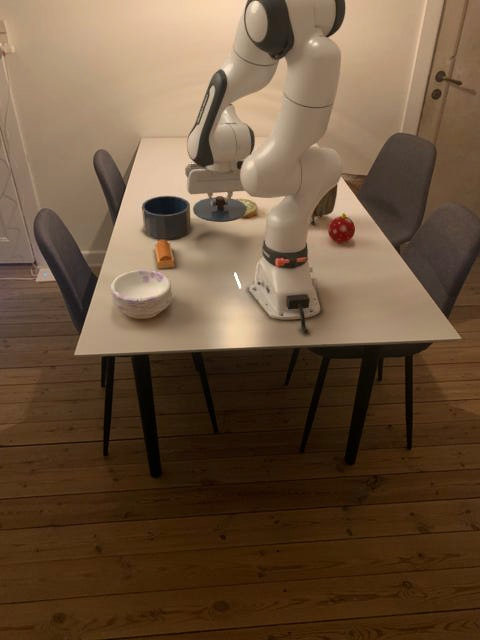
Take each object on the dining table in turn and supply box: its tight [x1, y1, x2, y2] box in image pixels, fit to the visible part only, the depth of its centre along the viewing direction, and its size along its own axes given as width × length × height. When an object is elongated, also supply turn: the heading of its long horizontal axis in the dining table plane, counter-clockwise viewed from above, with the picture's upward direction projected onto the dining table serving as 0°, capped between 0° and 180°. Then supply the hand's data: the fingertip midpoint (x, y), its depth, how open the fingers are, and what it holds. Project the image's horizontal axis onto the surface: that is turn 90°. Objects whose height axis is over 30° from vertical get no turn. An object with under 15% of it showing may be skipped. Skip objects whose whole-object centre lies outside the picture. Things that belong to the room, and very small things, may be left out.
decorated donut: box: [234, 198, 259, 218], centre depth 176 cm, size 10×11×4 cm
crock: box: [141, 195, 192, 241], centre depth 163 cm, size 16×16×8 cm
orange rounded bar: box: [154, 239, 175, 270], centre depth 148 cm, size 11×5×4 cm, turn 13°
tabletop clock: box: [310, 184, 338, 226], centre depth 164 cm, size 14×9×25 cm, turn 108°
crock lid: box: [192, 195, 247, 223], centre depth 151 cm, size 17×17×5 cm
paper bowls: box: [110, 269, 173, 320], centre depth 126 cm, size 15×15×8 cm
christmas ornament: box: [327, 212, 356, 244], centre depth 158 cm, size 9×9×10 cm
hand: (220, 204), depth 151 cm, fingers closed on crock lid, 2 cm apart
